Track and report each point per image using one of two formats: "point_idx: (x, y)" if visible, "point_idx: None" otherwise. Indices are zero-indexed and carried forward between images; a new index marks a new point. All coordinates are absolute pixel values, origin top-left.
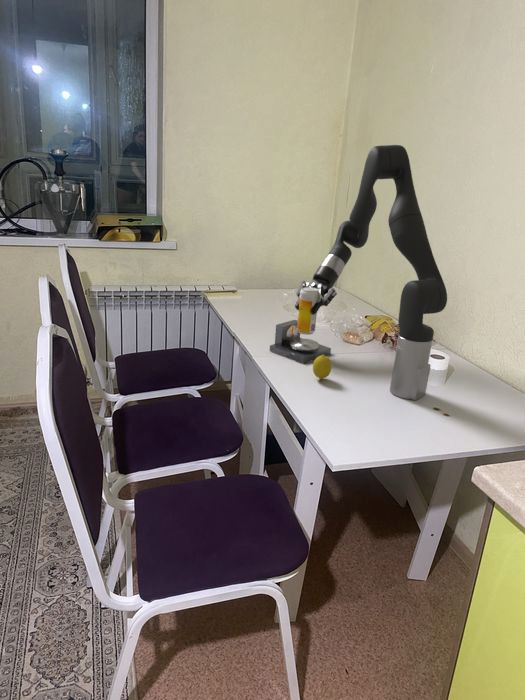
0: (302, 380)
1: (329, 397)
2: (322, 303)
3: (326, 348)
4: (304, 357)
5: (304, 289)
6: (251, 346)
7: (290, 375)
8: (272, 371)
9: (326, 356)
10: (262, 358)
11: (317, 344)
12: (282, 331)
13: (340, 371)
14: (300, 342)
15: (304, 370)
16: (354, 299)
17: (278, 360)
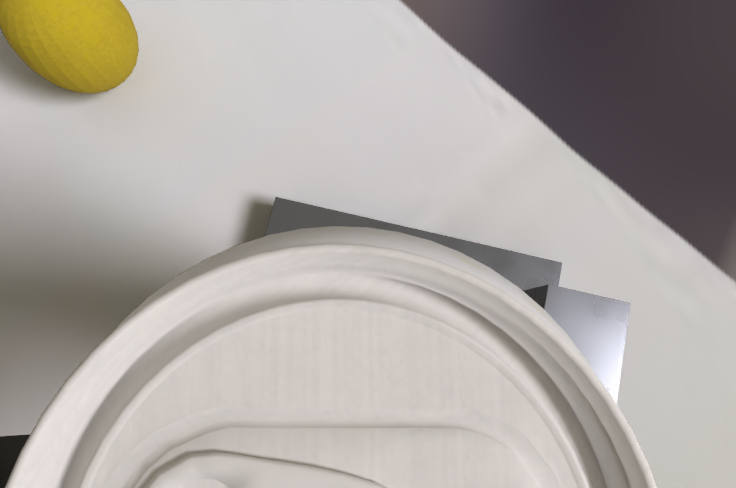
0: (189, 8)
1: None
2: (6, 445)
3: None
4: (275, 210)
5: (505, 444)
6: (676, 265)
7: (267, 26)
8: (367, 16)
9: (11, 3)
10: (508, 136)
11: None
12: (532, 291)
13: (52, 238)
14: None
15: (234, 126)
16: None
17: (421, 165)
